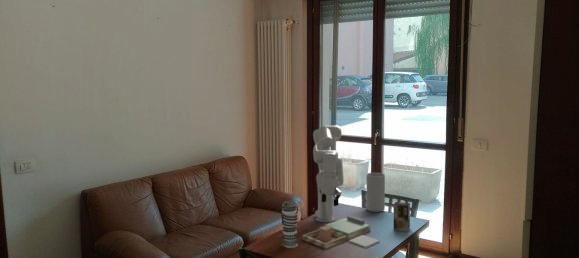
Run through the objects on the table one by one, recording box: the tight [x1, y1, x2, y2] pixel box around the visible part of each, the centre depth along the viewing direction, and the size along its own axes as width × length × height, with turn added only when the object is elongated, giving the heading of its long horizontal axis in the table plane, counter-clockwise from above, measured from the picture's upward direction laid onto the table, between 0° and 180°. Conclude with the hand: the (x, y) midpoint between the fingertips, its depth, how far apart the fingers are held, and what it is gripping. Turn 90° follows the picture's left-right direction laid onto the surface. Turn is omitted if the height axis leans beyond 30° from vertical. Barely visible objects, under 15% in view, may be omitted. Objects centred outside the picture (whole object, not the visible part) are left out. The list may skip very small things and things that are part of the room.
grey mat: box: [348, 234, 380, 249], centre depth 237 cm, size 12×12×1 cm
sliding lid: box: [324, 215, 371, 235], centre depth 254 cm, size 19×19×4 cm
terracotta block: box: [318, 225, 332, 243], centre depth 242 cm, size 5×5×7 cm
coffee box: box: [392, 201, 411, 233], centre depth 255 cm, size 9×6×16 cm
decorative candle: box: [280, 200, 299, 249], centre depth 234 cm, size 9×9×25 cm
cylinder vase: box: [365, 172, 386, 213], centre depth 294 cm, size 12×12×25 cm
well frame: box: [301, 226, 371, 250], centre depth 249 cm, size 19×39×2 cm, turn 131°
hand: (329, 203), depth 240 cm, fingers open, 9 cm apart
